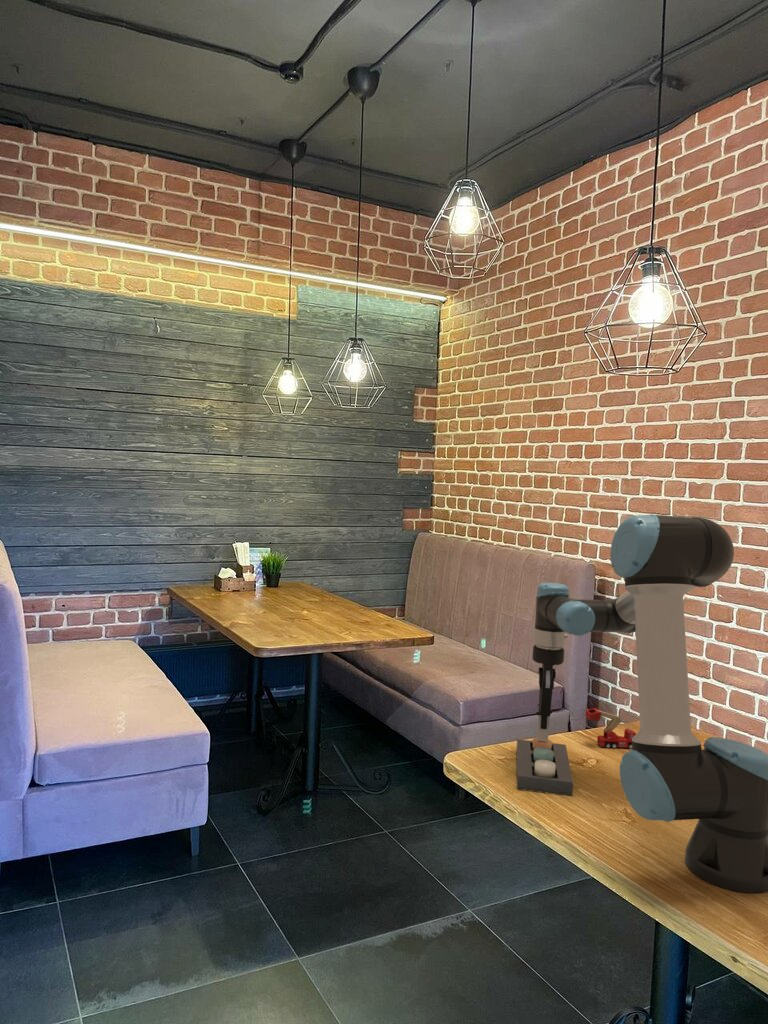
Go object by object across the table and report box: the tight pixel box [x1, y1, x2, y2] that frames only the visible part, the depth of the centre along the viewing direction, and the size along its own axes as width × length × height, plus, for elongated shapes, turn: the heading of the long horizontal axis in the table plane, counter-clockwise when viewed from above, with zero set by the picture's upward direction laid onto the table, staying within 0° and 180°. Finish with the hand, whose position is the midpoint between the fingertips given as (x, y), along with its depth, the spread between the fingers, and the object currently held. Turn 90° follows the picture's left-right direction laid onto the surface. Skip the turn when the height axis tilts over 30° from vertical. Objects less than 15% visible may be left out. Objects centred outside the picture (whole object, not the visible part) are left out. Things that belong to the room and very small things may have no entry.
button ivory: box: [534, 760, 556, 778], centre depth 171 cm, size 5×5×3 cm
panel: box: [515, 738, 574, 797], centre depth 179 cm, size 24×12×3 cm, turn 170°
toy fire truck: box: [585, 707, 637, 750], centre depth 199 cm, size 3×14×10 cm, turn 94°
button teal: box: [533, 748, 554, 763], centre depth 179 cm, size 5×5×3 cm
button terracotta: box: [532, 737, 553, 751], centre depth 187 cm, size 5×5×3 cm
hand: (542, 740), depth 187 cm, fingers closed
